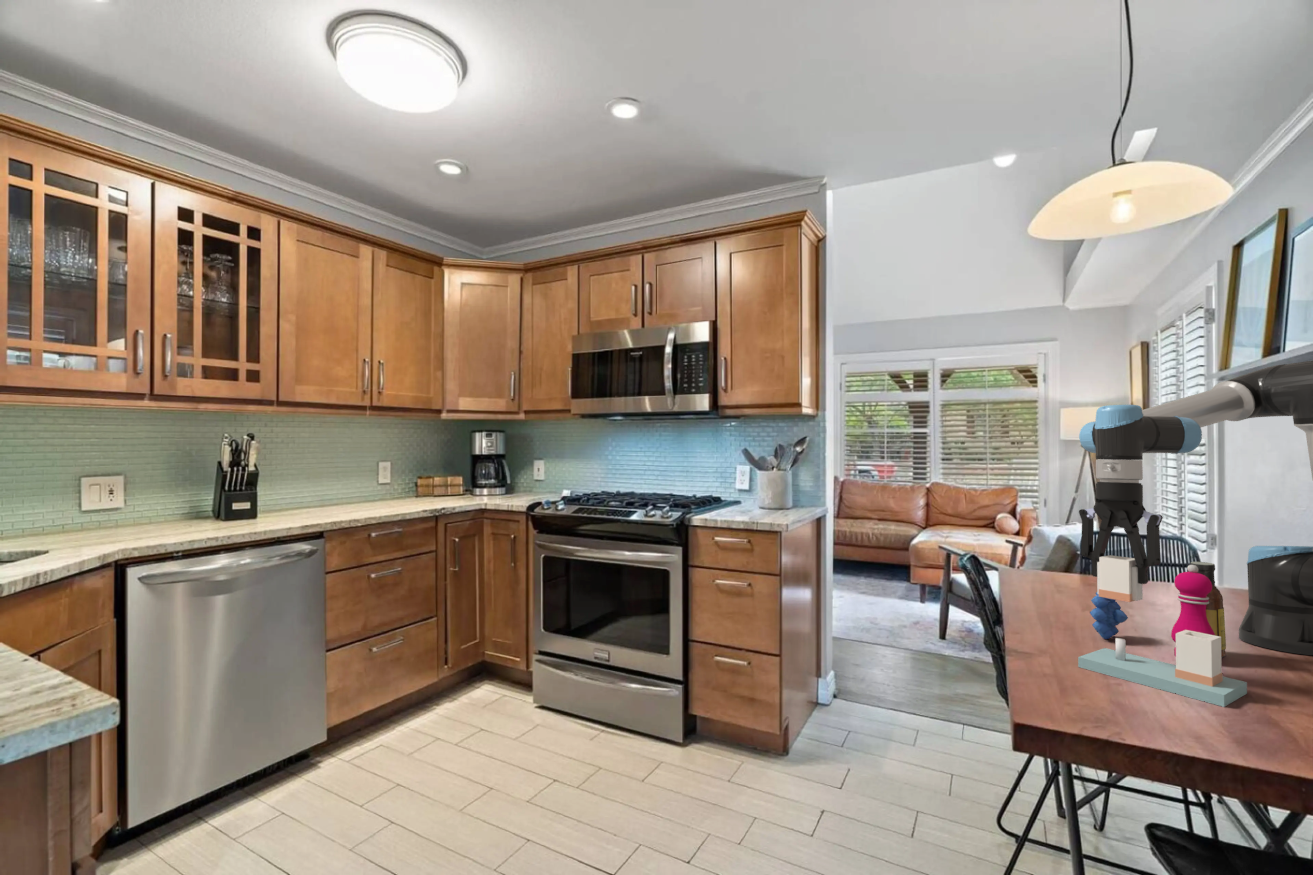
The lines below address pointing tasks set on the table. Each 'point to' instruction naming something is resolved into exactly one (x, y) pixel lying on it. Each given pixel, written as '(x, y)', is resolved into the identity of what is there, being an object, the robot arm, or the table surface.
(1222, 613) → the sauce bottle
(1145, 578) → the robot arm
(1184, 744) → the table surface
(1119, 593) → the sleeve
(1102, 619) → the grapes
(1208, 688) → the pin board
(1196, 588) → the pepper mill
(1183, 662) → the seated sleeve
